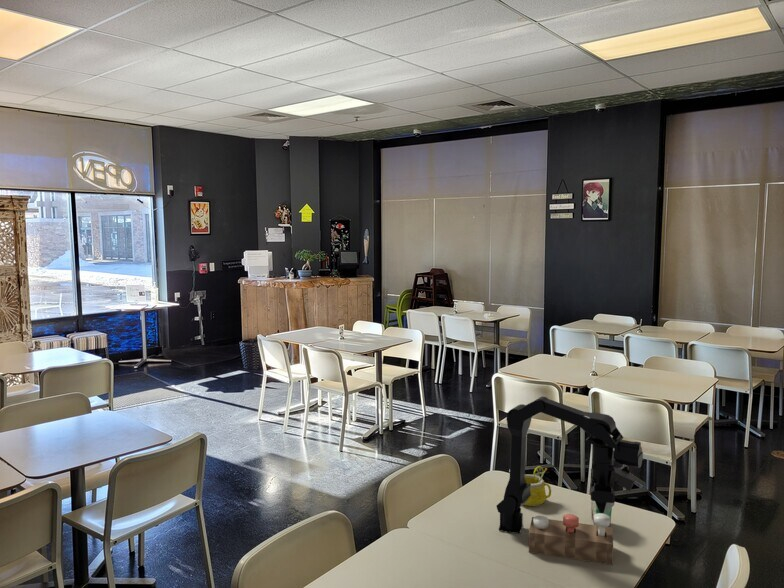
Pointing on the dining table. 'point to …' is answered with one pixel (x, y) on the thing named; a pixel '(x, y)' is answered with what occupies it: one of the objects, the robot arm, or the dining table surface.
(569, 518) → the salmon round-head knob
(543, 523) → the left grey plug
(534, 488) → the mug
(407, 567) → the dining table surface
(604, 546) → the walnut plug block
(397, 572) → the dining table surface
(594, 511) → the food container
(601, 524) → the right grey plug
